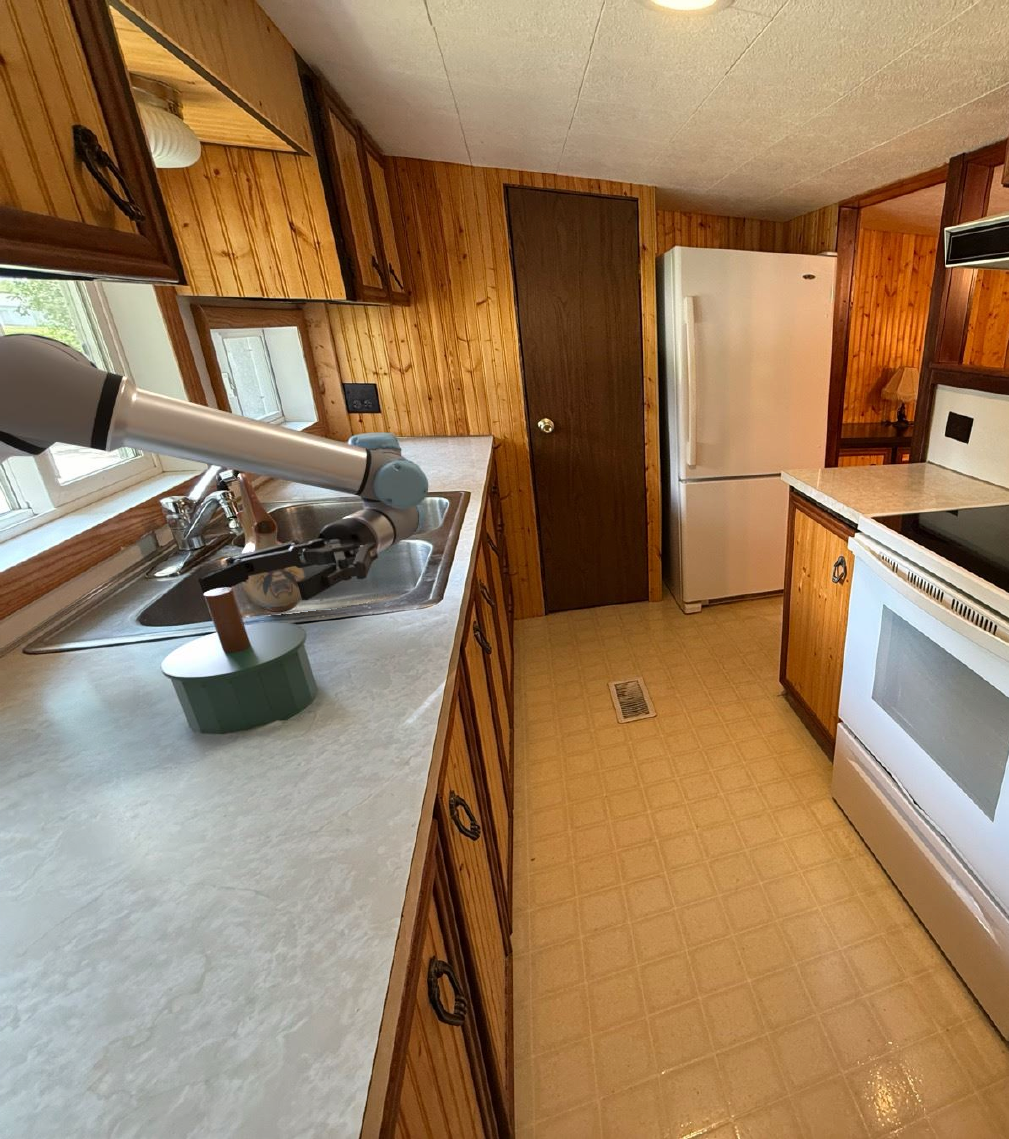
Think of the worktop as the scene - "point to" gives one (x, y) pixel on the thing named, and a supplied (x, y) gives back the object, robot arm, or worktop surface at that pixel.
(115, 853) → the worktop surface
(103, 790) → the worktop surface
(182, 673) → the lid
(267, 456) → the robot arm
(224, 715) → the pot
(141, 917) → the worktop surface
